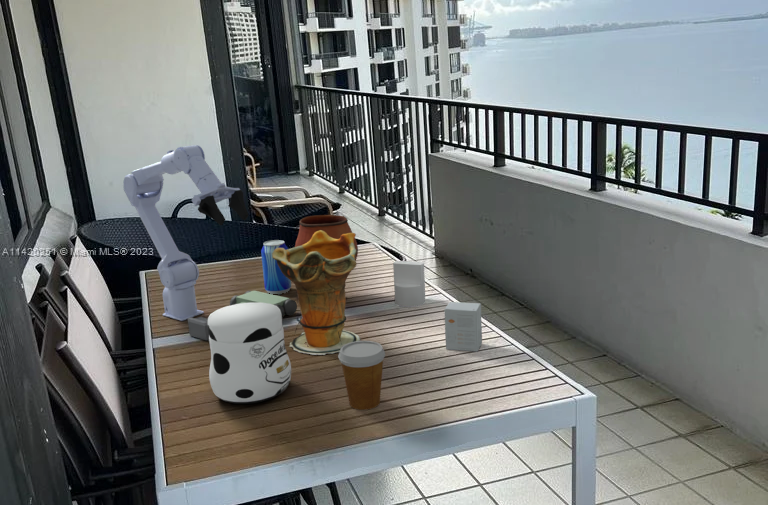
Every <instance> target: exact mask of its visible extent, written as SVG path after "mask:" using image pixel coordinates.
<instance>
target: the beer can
mask: <svg viewBox="0 0 768 505" xmlns="http://www.w3.org/2000/svg"><path fill="white" fill-rule="evenodd" d="M277 248H284V249H285V250H287V249H289V248H288V246H287V245H286V243H285V241H284V240H279V239H274V240H273V239H272V240H267V241H264V242H263V246H262V248H261V250H260V252H261V254H260V255H261V264H262V273H263V274H262V275H263V276H262V277H263V283H264V284H263V285H264V290H265V291H266V293H268V294H269V293H270V294H272V295H273V294H278V295H283V294H282V293H284V294H287V293H289V292H290V289H291V288H292V281H291V280H290V279H288V278H287V277H286V276H284V274H283V273H282V272H281V270H280V268H279V266H278V264H277V261H276V260H275V259H273V257H272V253H273V251H274V250H275V249H277ZM288 291H289V292H288ZM286 292H287V293H286Z"/></svg>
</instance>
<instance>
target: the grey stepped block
mask: <svg viewBox="0 0 768 505" xmlns="http://www.w3.org/2000/svg"><path fill="white" fill-rule="evenodd" d="M187 325H188V331H189V332H188V333H189V336H191V337H194V338H196V339H197V338H198V339H200V340H203V341H209V333H208V318H206V317H204V316H203V317H202V316H199V317H196V318H194V317H190V318H188V319H187Z"/></svg>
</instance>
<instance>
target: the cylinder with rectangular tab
mask: <svg viewBox="0 0 768 505" xmlns="http://www.w3.org/2000/svg"><path fill="white" fill-rule="evenodd" d="M392 267H393V287H394V304H395V305H396V306H398V307H403V308H413V307H415V308H416V307H420V306H423V305H425V304H426V282H425V276H426V274H425V262H424V261H410V260H409V261H408V260H407V261H406V260H395V261H393V265H392Z"/></svg>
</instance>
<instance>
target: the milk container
mask: <svg viewBox="0 0 768 505" xmlns="http://www.w3.org/2000/svg"><path fill="white" fill-rule="evenodd" d="M207 319H208V333H209V340H208V342H209V348H210V365H209V371H208V372H209V373H208V374H209V375H208V378H209V383H210V387H211V389H212V392H213V393H214V395H215V396H216V398H218V399H220V400H221V401H223V402H226V403H231V404H233V405H234V404H235V405H250V404H256V403H257V404H258V403H262V402H265V401H268V400H272V399H274V398H275V397H278V396H279V395H281V394H282V393H283V392H284V391H286V389H287V388H288V387H289V385H290V383H291V377H292V364H291V360H290V357H289V355H288V352H287V349H286V345H285V331H284V327H283V322H284V320H283V318H282V314H281V311H280V309H279V308H278V307H277V306H275V305H273V304H269V303H261V302H255V303H241V304H235V305H231V306H230V305H226V306H224V307H221V308H218V309H216V310H215V311H213V312H211V313H210V315H209V316H208V317H207Z"/></svg>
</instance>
